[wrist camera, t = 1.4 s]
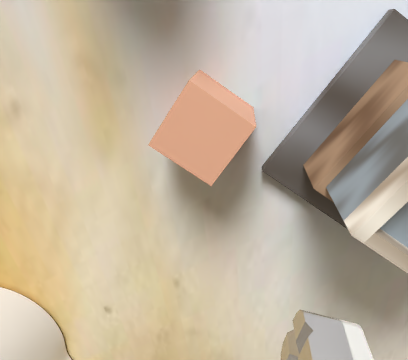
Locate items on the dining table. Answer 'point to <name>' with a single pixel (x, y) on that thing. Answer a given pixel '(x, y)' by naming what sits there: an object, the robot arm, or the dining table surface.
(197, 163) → the light orange block
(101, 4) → the dining table surface
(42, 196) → the dining table surface
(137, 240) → the dining table surface
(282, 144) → the stacked open-top box
